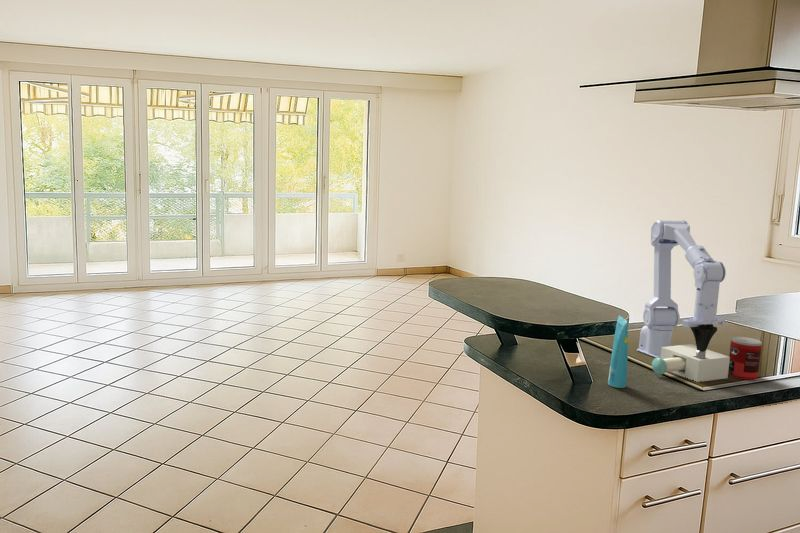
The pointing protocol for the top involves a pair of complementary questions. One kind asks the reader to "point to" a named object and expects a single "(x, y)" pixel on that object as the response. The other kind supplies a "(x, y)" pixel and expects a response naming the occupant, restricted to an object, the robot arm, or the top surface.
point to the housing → (698, 363)
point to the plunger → (700, 354)
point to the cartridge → (668, 365)
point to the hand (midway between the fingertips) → (701, 350)
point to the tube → (619, 355)
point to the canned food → (744, 358)
